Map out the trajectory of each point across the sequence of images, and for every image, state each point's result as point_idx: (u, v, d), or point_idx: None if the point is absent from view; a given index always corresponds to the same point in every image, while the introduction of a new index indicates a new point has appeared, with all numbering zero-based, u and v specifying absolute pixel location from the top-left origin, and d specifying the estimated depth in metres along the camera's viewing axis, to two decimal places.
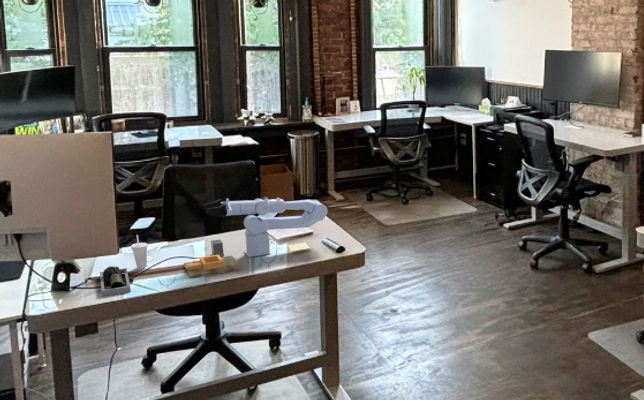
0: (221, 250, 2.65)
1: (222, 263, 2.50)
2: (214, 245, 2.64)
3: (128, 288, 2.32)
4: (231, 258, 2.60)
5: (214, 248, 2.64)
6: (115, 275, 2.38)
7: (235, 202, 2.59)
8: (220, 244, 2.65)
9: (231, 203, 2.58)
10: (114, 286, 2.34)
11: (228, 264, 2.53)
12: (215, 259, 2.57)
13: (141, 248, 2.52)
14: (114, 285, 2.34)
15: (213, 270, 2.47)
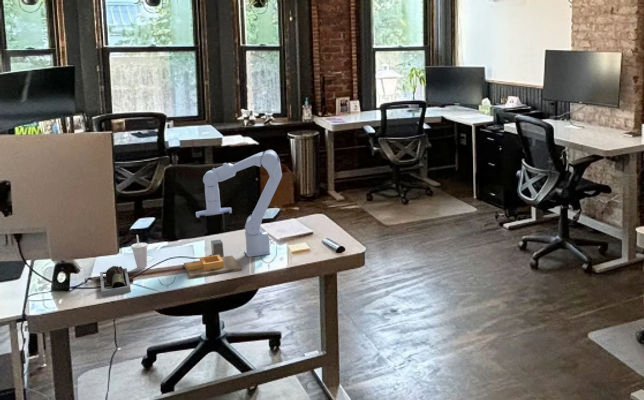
0: (221, 250, 2.65)
1: (222, 263, 2.50)
2: (214, 245, 2.64)
3: (128, 288, 2.32)
4: (231, 258, 2.60)
5: (214, 248, 2.64)
6: (117, 275, 2.38)
7: None
8: (220, 244, 2.65)
9: None
10: (115, 286, 2.34)
11: (228, 264, 2.53)
12: (215, 259, 2.57)
13: (141, 248, 2.52)
14: (115, 285, 2.34)
15: (213, 270, 2.47)
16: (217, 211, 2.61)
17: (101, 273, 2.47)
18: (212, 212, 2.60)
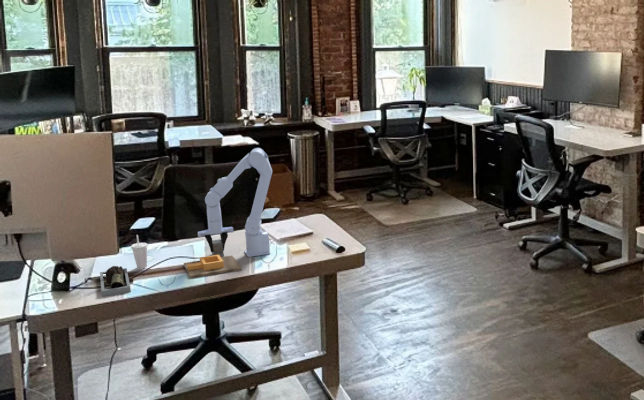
0: (221, 250, 2.65)
1: (222, 263, 2.50)
2: (214, 245, 2.64)
3: (128, 288, 2.32)
4: (231, 258, 2.60)
5: (214, 248, 2.64)
6: (116, 275, 2.38)
7: None
8: (220, 244, 2.65)
9: None
10: (114, 286, 2.34)
11: (228, 264, 2.53)
12: (215, 259, 2.57)
13: (141, 248, 2.52)
14: (114, 285, 2.34)
15: (213, 270, 2.47)
16: (219, 231, 2.63)
17: (101, 273, 2.47)
18: (214, 232, 2.62)
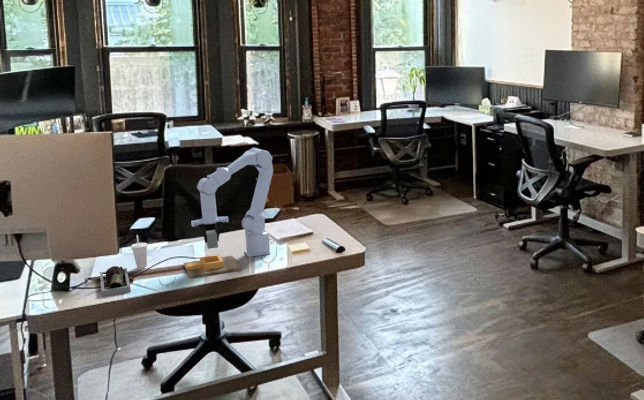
0: (216, 241, 2.54)
1: (222, 263, 2.50)
2: (208, 235, 2.53)
3: (128, 288, 2.32)
4: (231, 258, 2.60)
5: (208, 238, 2.53)
6: (116, 275, 2.38)
7: None
8: (214, 234, 2.53)
9: None
10: (113, 286, 2.34)
11: (228, 264, 2.53)
12: (215, 259, 2.57)
13: (141, 248, 2.52)
14: (113, 285, 2.34)
15: (213, 270, 2.47)
16: (213, 220, 2.51)
17: (101, 273, 2.47)
18: (208, 221, 2.51)
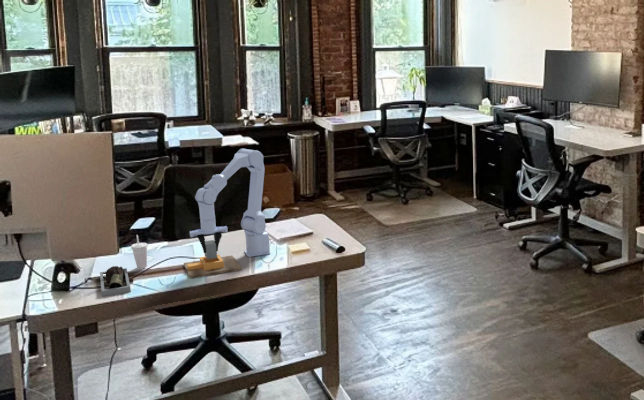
0: (215, 252, 2.50)
1: (222, 263, 2.50)
2: (207, 246, 2.49)
3: (128, 288, 2.32)
4: (231, 258, 2.60)
5: (207, 249, 2.49)
6: (115, 275, 2.38)
7: None
8: (213, 245, 2.50)
9: None
10: (113, 286, 2.34)
11: (228, 264, 2.53)
12: (215, 259, 2.57)
13: (141, 248, 2.52)
14: (113, 285, 2.34)
15: (213, 270, 2.47)
16: (212, 230, 2.47)
17: (101, 273, 2.47)
18: (207, 231, 2.47)
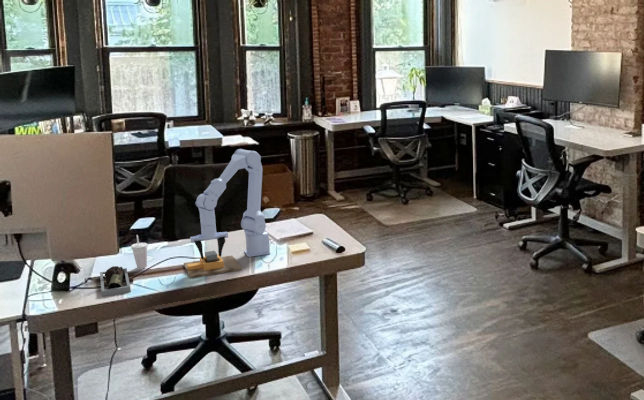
0: None
1: (222, 263, 2.50)
2: (208, 257, 2.50)
3: (128, 288, 2.32)
4: (231, 258, 2.60)
5: (208, 260, 2.50)
6: (115, 276, 2.37)
7: None
8: (214, 256, 2.51)
9: None
10: (112, 287, 2.34)
11: (228, 264, 2.53)
12: None
13: (141, 248, 2.52)
14: (112, 286, 2.34)
15: (213, 270, 2.47)
16: (213, 236, 2.48)
17: (101, 273, 2.47)
18: (207, 237, 2.47)
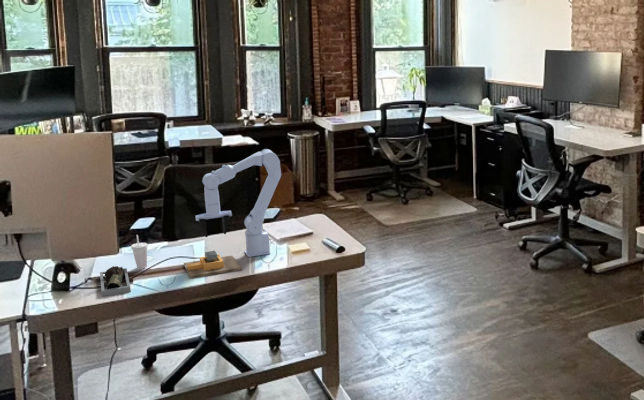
0: None
1: (222, 263, 2.50)
2: (208, 257, 2.50)
3: (128, 288, 2.32)
4: (231, 258, 2.60)
5: (208, 260, 2.50)
6: (114, 276, 2.37)
7: None
8: (214, 256, 2.51)
9: None
10: (111, 287, 2.33)
11: (228, 264, 2.53)
12: None
13: (141, 248, 2.52)
14: (111, 286, 2.34)
15: (213, 270, 2.47)
16: (217, 214, 2.57)
17: (101, 273, 2.47)
18: (212, 215, 2.57)
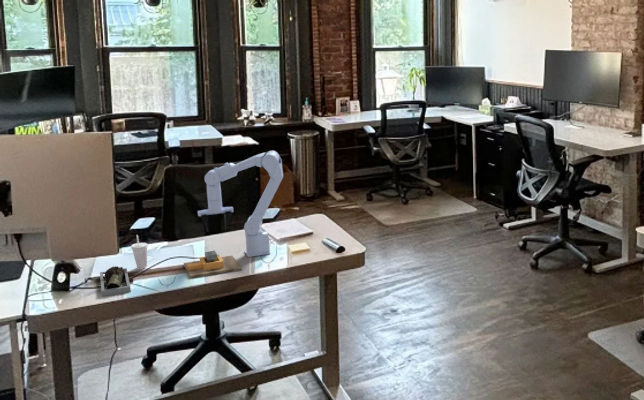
0: None
1: (222, 263, 2.50)
2: (208, 257, 2.50)
3: (128, 288, 2.32)
4: (231, 258, 2.60)
5: (208, 260, 2.50)
6: (114, 276, 2.37)
7: None
8: (214, 256, 2.51)
9: None
10: (111, 287, 2.33)
11: (228, 264, 2.53)
12: None
13: (141, 248, 2.52)
14: (111, 286, 2.33)
15: (213, 270, 2.47)
16: (219, 210, 2.62)
17: (101, 273, 2.47)
18: (214, 211, 2.61)
